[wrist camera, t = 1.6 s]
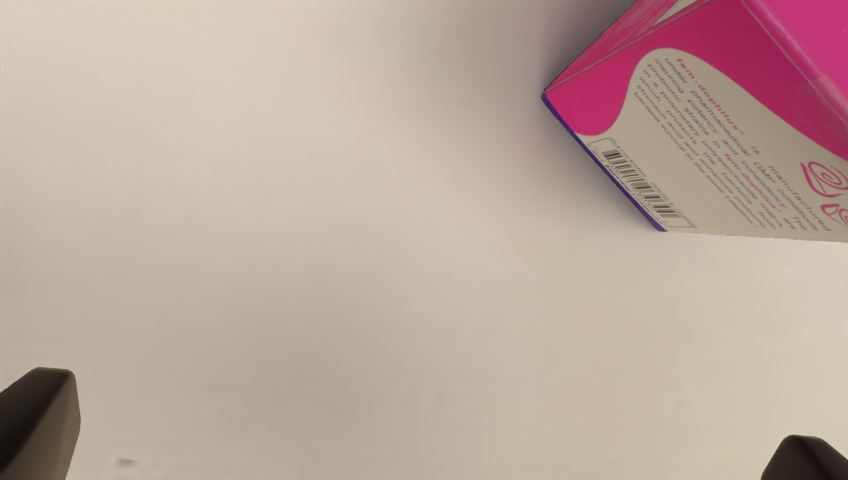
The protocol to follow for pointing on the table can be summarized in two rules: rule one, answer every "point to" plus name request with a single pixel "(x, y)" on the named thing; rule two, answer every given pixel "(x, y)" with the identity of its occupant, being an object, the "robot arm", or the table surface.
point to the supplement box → (719, 114)
